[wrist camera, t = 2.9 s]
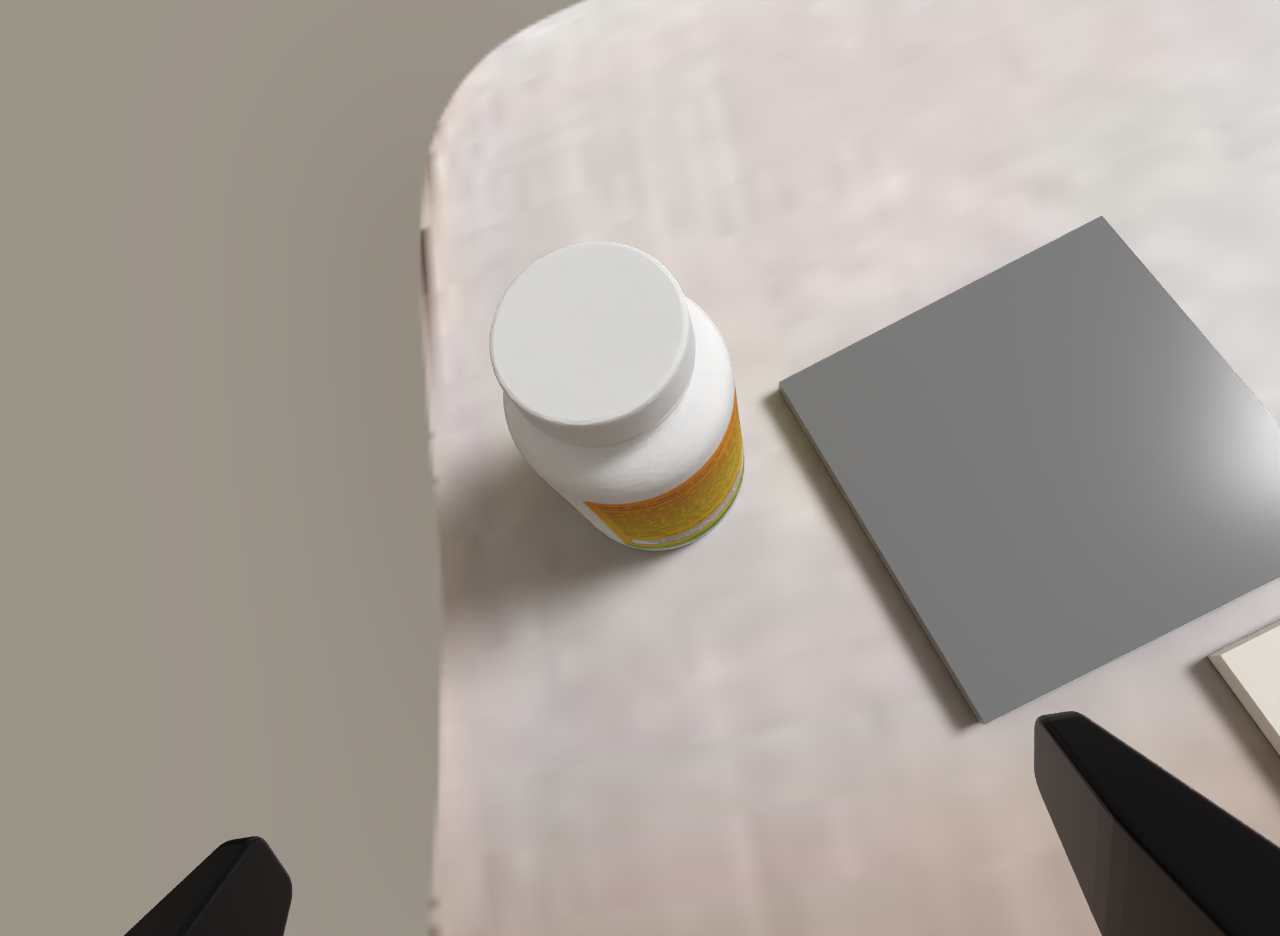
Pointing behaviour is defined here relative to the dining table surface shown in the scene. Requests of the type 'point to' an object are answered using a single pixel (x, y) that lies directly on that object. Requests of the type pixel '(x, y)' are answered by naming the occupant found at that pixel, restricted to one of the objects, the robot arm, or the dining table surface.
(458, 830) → the dining table surface
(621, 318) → the supplement bottle
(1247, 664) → the offwhite coaster
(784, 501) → the dining table surface
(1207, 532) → the slate coaster
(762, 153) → the dining table surface
